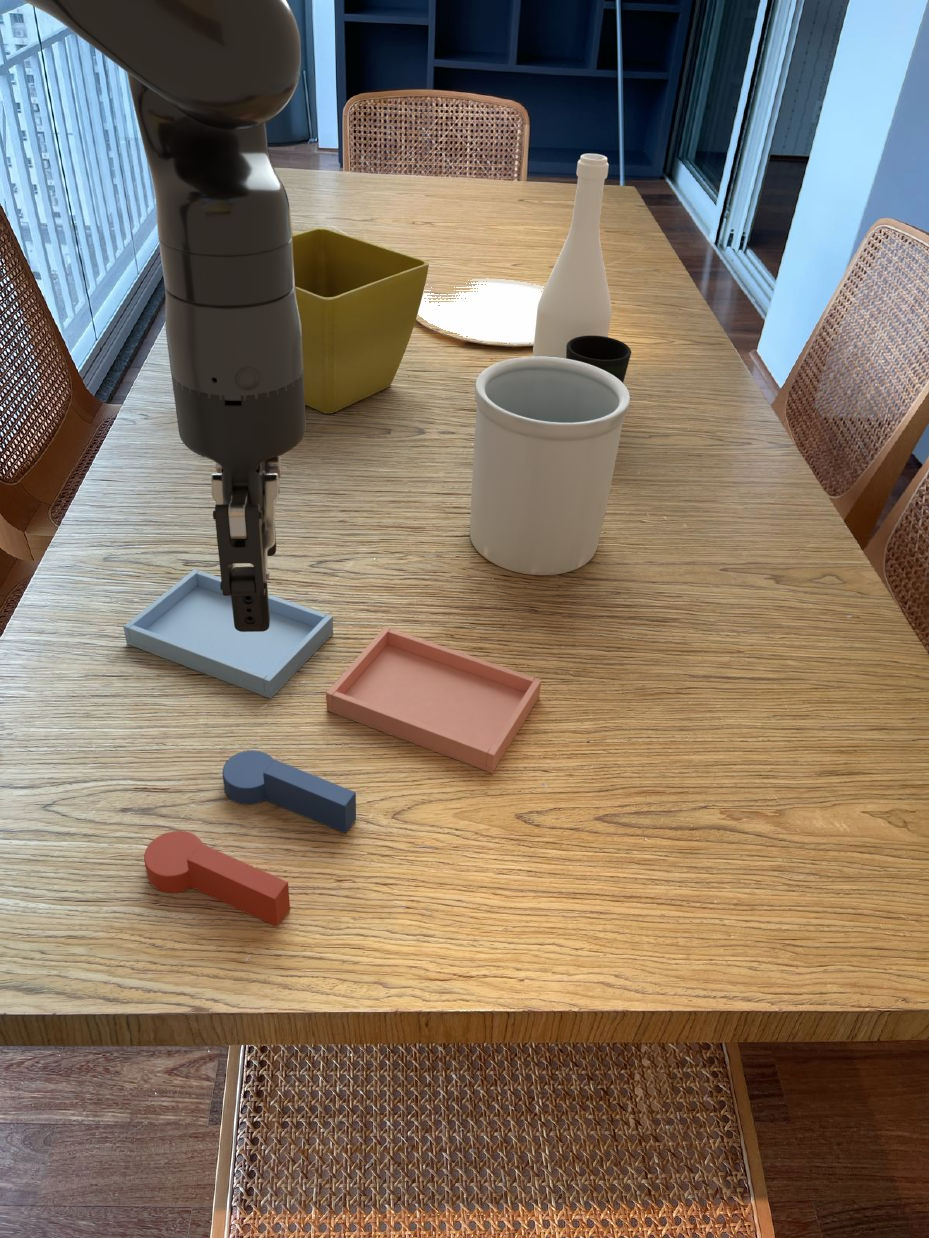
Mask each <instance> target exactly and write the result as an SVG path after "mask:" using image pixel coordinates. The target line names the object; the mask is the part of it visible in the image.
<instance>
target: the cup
mask: <svg viewBox="0 0 929 1238" xmlns="http://www.w3.org/2000/svg"><path fill="white" fill-rule="evenodd" d="M631 356H632V350H631V348H630V347H629V345H628V344H626V343H625V342H623V341H621V340H618V339H616V338H613V337H610V336H608V337H604V336H590V335H588V336H580V337H576V338H574V339H571V340H570V341H569V342H568V343H567V346H566V359H571V360H576V361H580V362H583V363H587V364H590V365H593V366H595V367H598V368H600V369H602V370H604V371H606V372H608V373H610V374H612V375H613V376H615V377H616V378H618V379H619V380H620V381H621V382H622V383H623V384H624V383H625V378H626V374H627V370H628V367H629V363H630V359H631Z"/></svg>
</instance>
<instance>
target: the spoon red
mask: <svg viewBox="0 0 929 1238" xmlns="http://www.w3.org/2000/svg"><path fill="white" fill-rule="evenodd" d="M143 862H144V866H145V872H146V875H147V880H148V882H149V884H150V885H151V886H152V887H153V888H155V889H156V890H158V891H161V892H164V893H170V894H171V893H172V894H173V893H181V892H184V891H187V890H189V889H191V888H192V889H194V890H196V891H199V892H200V893H202V894H205V895H207V896H209V897H211V898H213V899H216V900H218V901H220V902H222V903H224V904H226V905H228V906H231V907H233V908H235V909H237V910H240V911H242V912H244V913H246V914H248V915H251V916H253V917H255V918H257V919H259V920H261V921H263V922H265V923H267V924H269V925H272V926H274V927H276V928H278V927H279V925H280V924H281V923H282V921H283V920H284V919H285V917H286V916H287V914H288V913H289V912H290V911H291V905H290V904H291V903H290V890H289V889H290V888H289V881H287V880H284V879H282V878H280V877H278V876H276V875H273V874H271V873H269V872H266V871H264V870H262V869H259V868H257V867H255V866H253V865H251V864H248V863H247V862H244V861H243V860H239V859H237V858H235V857H233V856H230V855H228V854H226V853H223V852H222V851H219V850H217V849H215V848H213V847H210V846H208V845H205V844H204V843H203V842H202V840H201V839H200V837H198V835H196V834H194V833H192V832H189V831H186V830H185V831H184V830H173V831H168V832H165V833H163V834H160V835H159V836H157V837H156V838H154V839H153V840H152V841H151V842H150V843H149V844H148V846H147V847H146V849H145V852H144V855H143Z"/></svg>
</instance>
